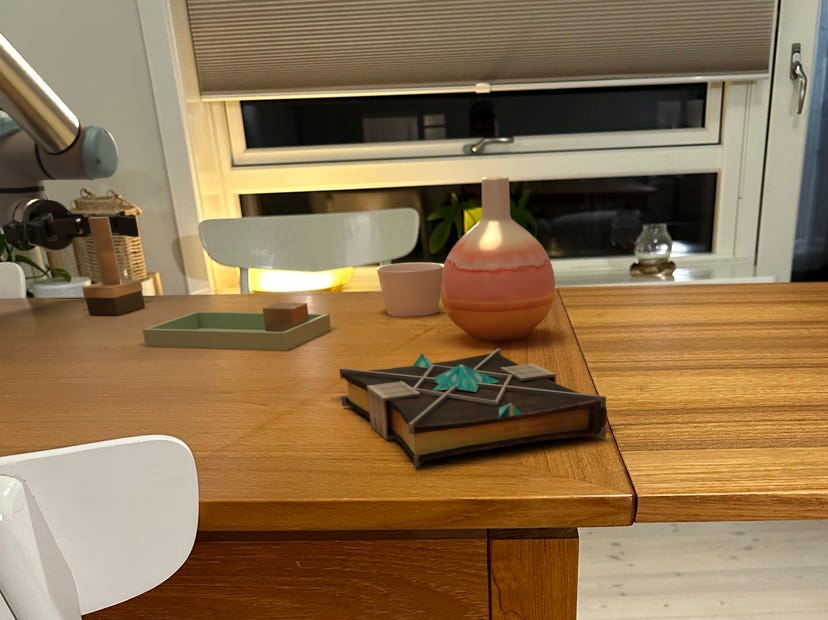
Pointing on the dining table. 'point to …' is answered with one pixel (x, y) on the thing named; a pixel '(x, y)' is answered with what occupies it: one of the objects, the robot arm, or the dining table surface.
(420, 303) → the pink cup
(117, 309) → the brush
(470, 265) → the vase
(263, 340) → the tray
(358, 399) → the book
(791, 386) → the dining table surface
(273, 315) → the brown cube
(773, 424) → the dining table surface
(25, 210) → the robot arm
